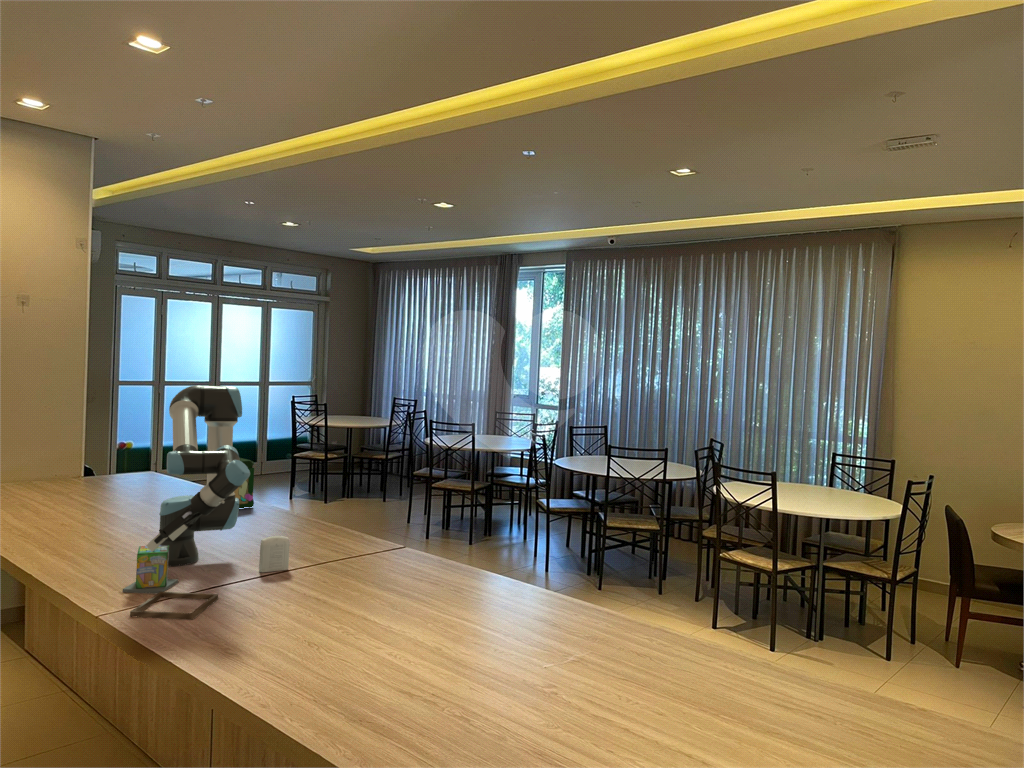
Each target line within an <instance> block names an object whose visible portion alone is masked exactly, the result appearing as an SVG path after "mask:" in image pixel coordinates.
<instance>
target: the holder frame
mask: <svg viewBox="0 0 1024 768" xmlns="http://www.w3.org/2000/svg"><path fill="white" fill-rule="evenodd" d="M162 598H166V599H167V598H168V599H169V598H170V599H184V600H185V599H186V600H187V599H189V600H190V599H191V600H206V601H204V602H203V603H201V604H200V605H199V606H198V607H196V608H195V609H194V610H193V611H191V612H179V611H178V612H176V611H175V612H174V611H155V610H152V611H151V610H147V609H148V608H149V607H150V606H152V605H153V604H155V603H156V602H158V601H160V600H161V599H162ZM207 599H208V600H207ZM218 599H219V594H218V593H201V592H183V591H182V592H181V591H180V592H179V591H164V592H159V593H158V594H154V596H152V597H150V598H149V599H147V600H145V601H144V602H142V603H141V604H139V605H138V606H136V607H135V608H134V609H131V610H130V613H129V616H137V617H136V618H147V617H152V618H151V619H174V620H175V619H176V620H192V621H193V620H194V619H195V618H197V616H200V614H202V613H203V612H204V611H205V610H206V609H208V608H209V607H210V606H211V605H212V604H214V603H216V601H218ZM213 602H214V603H213ZM208 606H209V607H208ZM207 607H208V608H207Z"/></svg>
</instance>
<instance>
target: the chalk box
mask: <svg viewBox="0 0 1024 768" xmlns="http://www.w3.org/2000/svg"><path fill="white" fill-rule="evenodd" d="M168 560H169V545H159V546H158V547H157V548H156V549H155V550H154V551H152V552H151V550H150V549H149V548H148V547H147V546H146V545H139V546H138V550H137V555H136V569H135V570H136V574H135V582H136V589H137V588H149V587H166V586H167V579H169V578H168V577H169V576H168V575H169V566H168Z"/></svg>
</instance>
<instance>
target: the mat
mask: <svg viewBox="0 0 1024 768" xmlns="http://www.w3.org/2000/svg"><path fill="white" fill-rule="evenodd" d="M178 583H179V578H177V579H176V578H168V579H167V586H166V587H149V588H137V589H136V581H134V582H133V583H130V584H129V585H127V586H125V587H124V588H122V593H128V594H129V593H134V594H149V595H150V594H152V595H153V594H154V595H156V594H158V593H159V592H167V590H169V589H170V588H172V587H173V586H175V585H177V584H178Z"/></svg>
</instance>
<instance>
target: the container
mask: <svg viewBox="0 0 1024 768" xmlns="http://www.w3.org/2000/svg"><path fill="white" fill-rule="evenodd" d="M240 461H241V462H243V463H244V464H245V465H246V466H247V467H248V469H249V471H250V476H249V478H248V479H247V480H246V481H245V482H244V483H243V484H242V485H241V486H239V487H238V488H237V489H236V490H235V491H234V493H235V498H238V499H239V508H244V507H252V506H253V507H254V505H255V501H254V483H255V482H254V478H255V467H253V466H254V463H255V462H254V461H253V460H250V459H247V458H242V457H240Z"/></svg>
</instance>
